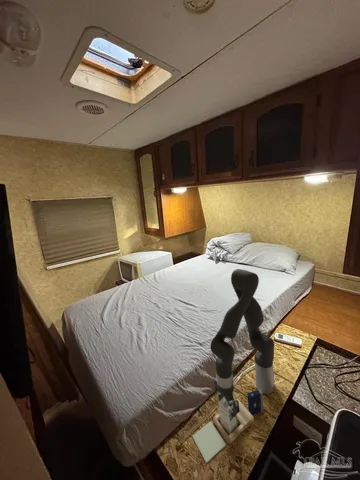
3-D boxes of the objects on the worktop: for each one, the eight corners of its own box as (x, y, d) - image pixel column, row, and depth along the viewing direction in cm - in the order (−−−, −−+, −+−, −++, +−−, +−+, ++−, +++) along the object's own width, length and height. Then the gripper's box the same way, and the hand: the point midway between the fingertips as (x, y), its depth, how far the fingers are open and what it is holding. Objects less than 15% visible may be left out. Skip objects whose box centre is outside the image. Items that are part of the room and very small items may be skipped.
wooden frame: (237, 401, 104) (237, 398, 103) (253, 420, 95) (253, 417, 94) (213, 421, 97) (212, 417, 96) (228, 444, 87) (228, 440, 87)
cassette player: (250, 415, 97) (249, 397, 94) (248, 411, 99) (247, 392, 96) (264, 410, 98) (263, 392, 95) (261, 406, 100) (260, 387, 98)
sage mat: (210, 421, 97) (210, 421, 96) (226, 445, 87) (226, 444, 87) (192, 436, 92) (192, 436, 92) (206, 463, 82) (206, 462, 82)
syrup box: (230, 435, 90) (228, 411, 87) (220, 425, 95) (218, 402, 91) (237, 424, 94) (235, 401, 90) (227, 415, 98) (225, 393, 95)
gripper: (242, 387, 83) (244, 416, 87) (220, 364, 96) (223, 390, 99) (229, 398, 80) (231, 427, 84) (208, 372, 92) (211, 399, 96)
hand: (227, 407), depth 92 cm, fingers open, 8 cm apart
